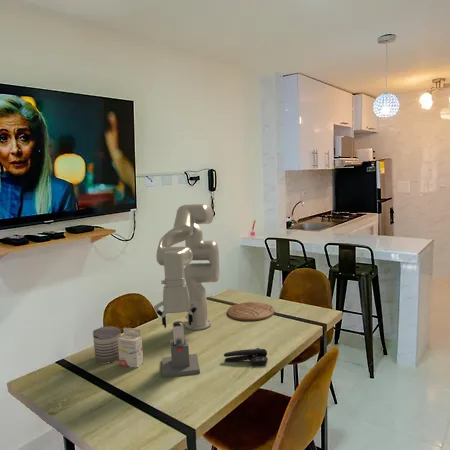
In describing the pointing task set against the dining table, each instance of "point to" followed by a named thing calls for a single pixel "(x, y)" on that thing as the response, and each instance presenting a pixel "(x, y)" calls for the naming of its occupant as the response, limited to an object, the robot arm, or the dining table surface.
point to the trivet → (250, 311)
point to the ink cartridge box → (130, 348)
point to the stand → (180, 361)
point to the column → (178, 332)
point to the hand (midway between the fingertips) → (177, 325)
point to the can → (106, 344)
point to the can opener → (248, 356)
